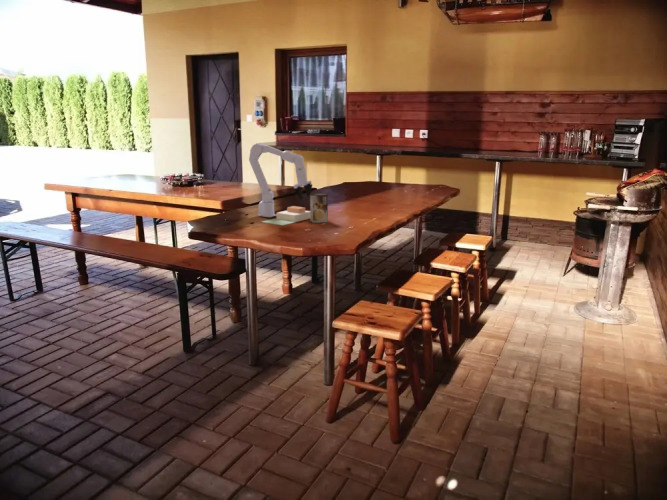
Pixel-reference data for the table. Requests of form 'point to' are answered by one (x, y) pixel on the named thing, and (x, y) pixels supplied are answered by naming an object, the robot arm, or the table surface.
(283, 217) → the white panel
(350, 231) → the table surface
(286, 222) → the green mat
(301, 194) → the robot arm
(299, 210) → the terracotta tile
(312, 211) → the coffee box
